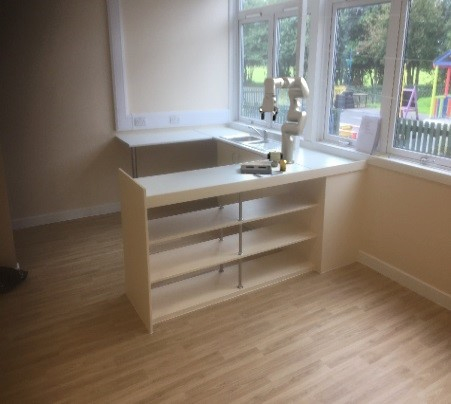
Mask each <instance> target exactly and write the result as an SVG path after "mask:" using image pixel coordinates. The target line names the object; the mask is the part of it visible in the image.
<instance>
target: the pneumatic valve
mask: <svg viewBox="0 0 451 404" xmlns="http://www.w3.org/2000/svg"><path fill="white" fill-rule="evenodd" d="M266 159H267V160H268V162H270V166H271V167H273V168H275V167H278V166H279V161H280V160H281V159H283V154H281V151H277V150H274V151H268V153H266Z"/></svg>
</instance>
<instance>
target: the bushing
mask: <svg viewBox="0 0 451 404" xmlns="http://www.w3.org/2000/svg"><path fill="white" fill-rule="evenodd" d="M281 171H282V173H283V172H284V173H285V172H286V171H287V164H286V160H280V162H279V172H281Z"/></svg>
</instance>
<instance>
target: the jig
mask: <svg viewBox="0 0 451 404" xmlns="http://www.w3.org/2000/svg"><path fill="white" fill-rule="evenodd" d="M272 171H273V170H272V166H271V164H270V165H269V164H268V165H267V164H266V165H265V164H263V165H262V164H240V174H244V175H245V174H246V175H248V174H249V175H251V174H252V175H256V174H255V173H260V174H259V175H272V174H273V172H272Z"/></svg>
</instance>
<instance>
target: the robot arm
mask: <svg viewBox="0 0 451 404" xmlns="http://www.w3.org/2000/svg"><path fill="white" fill-rule="evenodd" d="M263 84H264V93H263V98H262V103H261V106H259V107H258V111H259V113H260V119H261V121H263V120H265V118H266V117H265V113H271V114H272V119H271V120H272V122H274V121H275V122H276V120H277V115H278V113H279V112H280V108H279V107H277V106H278V104H277V98H276V97H277V94H276V89H280V90H281V89H284V90H286V89H288V91H287V96H288V98H289V107H288V110H287V115H286V121H287V122H284V123H282V124H281V127H280V131H281V132H280V133H281V148H280V152H281V154H283V159H281V160H286V165H287V164H289V165H291V164H294V163H295V160H293V159H294V158H293V157H294V144H295V141H294V138H293V137H294V136H296V137H300V136H302V135H303V132H304V130H305V126H306V123H307V118H308V114H307V112H306V111H304V110H301V102H300V101H299V100H300V99H303V100H304V99H305V100H307V98H309V96H310V89H309V86H308V84H307V82H306V80H305V79H304V78H303V77H302V76H300V77H299V76H279V77H278V76H277V77H276V76H275V77H274V76H273V77H270V76H269V77H268V76H267V77H265V78H264V81H263ZM278 163H280V161H278Z"/></svg>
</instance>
